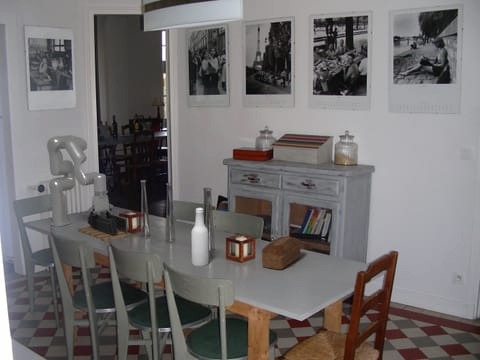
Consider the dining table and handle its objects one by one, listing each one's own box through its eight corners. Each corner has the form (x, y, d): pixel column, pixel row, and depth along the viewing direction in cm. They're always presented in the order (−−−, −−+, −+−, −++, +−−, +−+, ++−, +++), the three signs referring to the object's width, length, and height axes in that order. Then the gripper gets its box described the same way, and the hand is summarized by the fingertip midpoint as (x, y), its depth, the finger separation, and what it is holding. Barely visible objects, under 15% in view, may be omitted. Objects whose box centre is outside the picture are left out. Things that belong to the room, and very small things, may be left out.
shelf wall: (100, 224, 361) (100, 211, 360) (102, 224, 362) (101, 210, 360) (126, 233, 340) (125, 219, 339) (127, 232, 341) (127, 218, 340)
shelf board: (77, 230, 352) (77, 228, 352) (102, 225, 364) (101, 223, 364) (105, 241, 328) (105, 239, 328) (130, 235, 341) (130, 233, 340)
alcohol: (208, 260, 293) (208, 206, 288) (208, 266, 284) (207, 210, 279) (192, 261, 293) (191, 206, 287) (191, 266, 284) (190, 210, 279)
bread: (304, 257, 300) (304, 235, 298) (282, 272, 276) (282, 249, 274) (281, 253, 307) (281, 232, 304) (258, 268, 282) (258, 245, 280)
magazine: (119, 221, 332) (94, 200, 351) (114, 222, 330) (89, 201, 348) (116, 246, 339) (91, 223, 357) (111, 247, 336) (87, 224, 355)
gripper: (109, 190, 350) (110, 216, 353) (84, 194, 338) (85, 221, 341) (115, 192, 344) (116, 218, 348) (90, 196, 332) (92, 223, 336)
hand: (101, 220), depth 344 cm, fingers open, 9 cm apart
